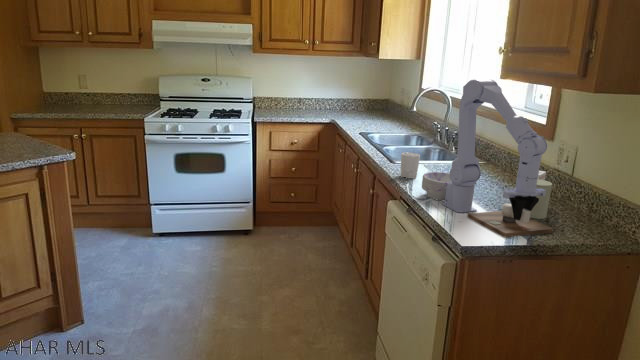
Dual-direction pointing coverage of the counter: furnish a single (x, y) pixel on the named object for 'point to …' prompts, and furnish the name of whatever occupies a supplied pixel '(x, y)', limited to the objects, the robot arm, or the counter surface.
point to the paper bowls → (436, 184)
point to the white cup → (409, 164)
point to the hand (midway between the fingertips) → (520, 219)
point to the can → (542, 200)
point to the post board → (508, 224)
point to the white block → (508, 212)
